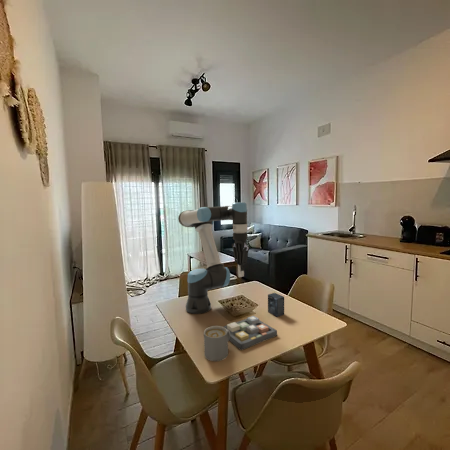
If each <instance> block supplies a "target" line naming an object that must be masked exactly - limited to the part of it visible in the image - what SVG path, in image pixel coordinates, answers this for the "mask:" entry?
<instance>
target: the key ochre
mask: <svg viewBox="0 0 450 450" xmlns="http://www.w3.org/2000/svg"><path fill="white" fill-rule="evenodd" d="M235 337H236V338H238V339H239V340H240V341H245V340H248V339H249V335H248V334H247V333H245V332H244V331H241V332H238V333H236V334H235Z"/></svg>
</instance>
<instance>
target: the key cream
mask: <svg viewBox="0 0 450 450" xmlns="http://www.w3.org/2000/svg"><path fill="white" fill-rule="evenodd" d="M235 322H236V321H234V322H230V323H228V324H226V325H227V329H228V330H230V331H231V332H234V331H237V330H240V325H238V324H237V323H235Z"/></svg>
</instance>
